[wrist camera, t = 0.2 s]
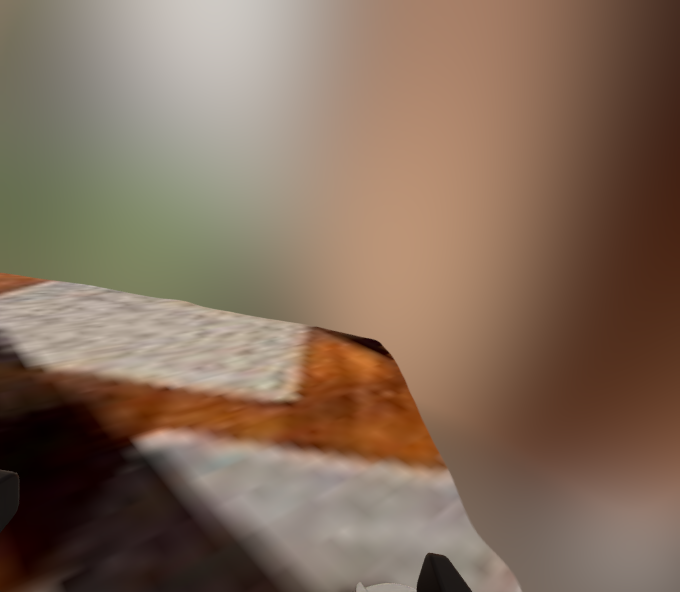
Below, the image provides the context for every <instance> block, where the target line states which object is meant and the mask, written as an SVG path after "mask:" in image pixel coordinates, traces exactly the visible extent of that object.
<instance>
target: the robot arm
mask: <svg viewBox="0 0 680 592" xmlns="http://www.w3.org/2000/svg"><path fill="white" fill-rule="evenodd" d="M18 505H19V476H18V475H17V473H14V472H9V471H4V470H0V532H1V531H2V530H3V529H4V527H5V526H6V525H7V524H8V523H9V521H10V520H11V519H12V517H13V516H14V514H15V513H16V511H17V509H18ZM417 592H472V591H471V589H470V588H469V587H468V585H467V584H466V582H465V581H464V580H463V578H462V577H461V575H460V574H459V573H458V571H457V570H456V569H455V567H454V566H453V564H452V563H451V562H450V560H449V559H448V558H447V557H446V556H444V555H439V554H434V553H428V554H427V555H426V557H425V559H424V563H423V566H422V569H421V572H420V575H419V578H418V582H417Z"/></svg>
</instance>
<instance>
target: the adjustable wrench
mask: <svg viewBox="0 0 680 592" xmlns="http://www.w3.org/2000/svg"><path fill="white" fill-rule="evenodd" d="M355 592H417V589H415V588H412V587H409V586H406V585H402V584H396V583H384V584H377V585H373V586H369V587H366V588H364V586H363V585H362V583H361V582H359V583H358V585H357V586H356V590H355Z"/></svg>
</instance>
